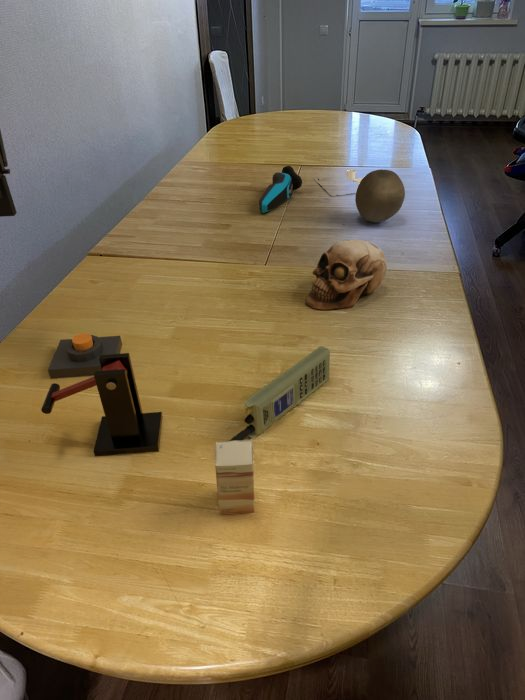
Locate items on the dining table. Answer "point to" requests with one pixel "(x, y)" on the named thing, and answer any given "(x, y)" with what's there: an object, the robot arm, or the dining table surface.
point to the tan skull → (346, 274)
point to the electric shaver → (280, 189)
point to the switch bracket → (123, 412)
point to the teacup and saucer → (352, 176)
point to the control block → (82, 357)
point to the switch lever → (73, 388)
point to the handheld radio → (285, 392)
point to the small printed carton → (235, 476)
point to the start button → (82, 342)
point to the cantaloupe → (379, 195)
